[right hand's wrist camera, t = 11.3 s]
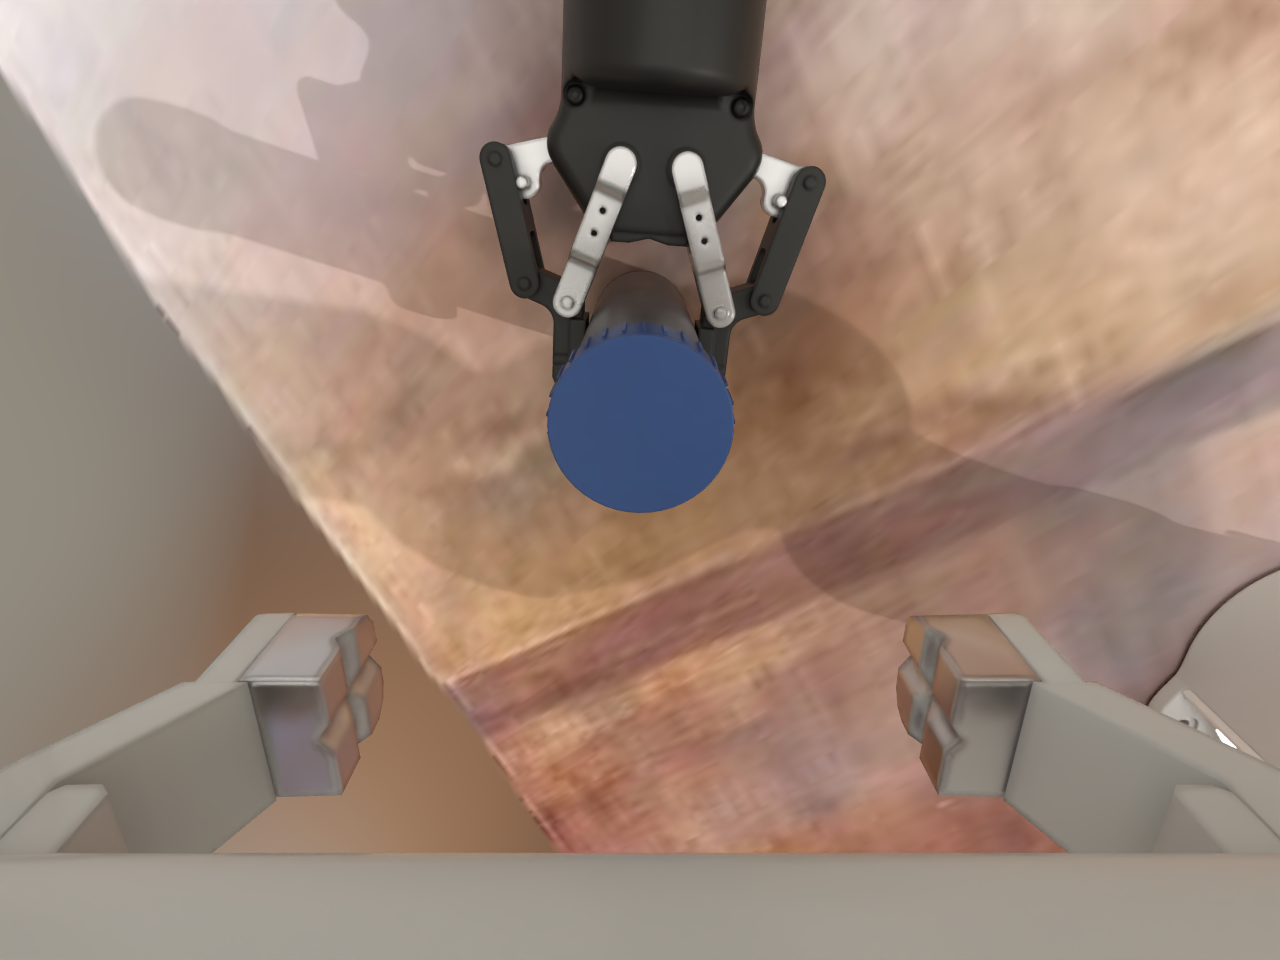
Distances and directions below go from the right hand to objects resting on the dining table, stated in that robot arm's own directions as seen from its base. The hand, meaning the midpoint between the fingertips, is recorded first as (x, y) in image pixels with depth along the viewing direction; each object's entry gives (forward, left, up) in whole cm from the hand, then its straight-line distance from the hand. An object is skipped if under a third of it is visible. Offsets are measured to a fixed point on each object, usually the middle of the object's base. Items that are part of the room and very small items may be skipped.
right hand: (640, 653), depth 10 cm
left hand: (-2, +1, -23) cm, 23 cm away
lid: (0, 0, -11) cm, 11 cm away
